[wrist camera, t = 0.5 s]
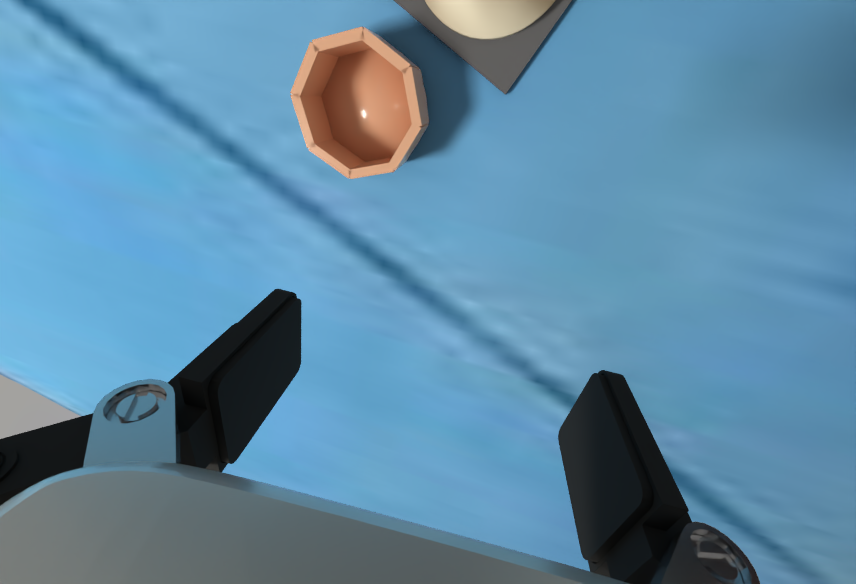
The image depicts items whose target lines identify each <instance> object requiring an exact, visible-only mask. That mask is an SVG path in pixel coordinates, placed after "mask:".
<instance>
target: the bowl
mask: <svg viewBox="0 0 856 584" xmlns="http://www.w3.org/2000/svg"><path fill="white" fill-rule="evenodd" d="M419 69H420V68H419V67H418V66H416V65H415V64H414V63H413V62H411V61H410V60H409V59H408V58H407V57H405V56H404V55H403V54H402V53H401V52H399V51H398V50H397V49H395V48H394V47H393V46H392V45H391V44H389V43H388V42H387V41H386V40H384V39H383V38H382V37H381V36H379V35H377V34H376V33H374V32H372V31H370V30H369V29H367V28H365V27H359V28H355V29H351V30H348V31H344V32H340V33H337V34H333V35H329V36H325V37H322V38H318V39H314V40H312V42H310V44H309V46H308V49H307V52H306V54H305V57H304V59H303V62H302V64H301V67H300V69H299V72H298V75H297V77H296V80H295V82H294V85H293V87H292V90H291V92H290V93H291V94H293V95H290V96H291V99H292V102H293V105H294V108H295V111H296V114H297V118H298V121H299V124H300V127H301V130H302V133H303V136H304V140H305V143H306V146H307V148H309V151H311V152H312V153H313V154H315V155H316V156H318V157H319V158H320V159H322V160H323V161H325V162H326V163H327V164H329V165H330V166H332V167H333V168H334V169H336V170H337V171H339V172H340V173H341V174H343V175H344V176H346V177H347V178H350V179H353V178H359V177H365V176H371V175H377V174H383V173H389V172H394V171H395V170H397V169H398V168H399V167H400V166H402V165H403V164H404V163H405V162H406V161H407V159H408V158H409V156H410V154H411V153H412V151H413V150H414V148H415V147H416V146H417V144H418V143H419V141H420V139H421V137H422V135H423V133H424V132H425V130H426V129H427V127H428V125H429V124H428V123H429V116H428V110H427V97H426V92H425V88H424V85H423V79H422V73H421V70H419Z"/></svg>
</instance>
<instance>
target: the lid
mask: <svg viewBox="0 0 856 584" xmlns="http://www.w3.org/2000/svg"><path fill="white" fill-rule="evenodd" d="M425 2H426V4H427V5H428V7H429V8H430V9H431V11H432V12H433V13H434V15H435V16H436V17H437V18H438V19H439V20H440V21H441V22H442V23H443V24H444V25H446V26H447V27H448V28H450V29H451V30H453V31H454V32H456V33H458V34H460V35H463V36H466V37H469V38H472V39H478V40H494V39H500V38H504V37H507V36H510V35H513V34H515V33H517V32H519V31H521V30H523V29H525V28H526V27H528V26H529V25H531V24H532V23H534V22H535V21H536V20H537V19H538V18H540V17H541V16H542V15H543V14H544V13H545V12H546V11H547V10H548V9H549V8H550V7H551V6H552V4H553V3H554V2H555V0H425Z"/></svg>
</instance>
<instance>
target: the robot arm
mask: <svg viewBox="0 0 856 584" xmlns="http://www.w3.org/2000/svg"><path fill="white" fill-rule="evenodd" d="M300 364H301V300H300V299H298V298H297V296H296V294H295V293H293V292H289V291H285V290H281V289H275V290H274V291H273V292H272V293H270V294H269V295H268V296H267V297H266V298H265V299H264V300H263V301H262V302H260V303H259V304H258V305H257V306H256V307H255V308H254V309H253V310H251V311H250V312H249V313H248V314H247V315H246V316H245V317H244V318H243V319H241V320H240V321H239V322H238V323H235V324H234V325H232V326H231V327H230V328H229V329H228V330H227V331H225V332H224V333H223V334H222V335H221V336H220V337H219V338H218V339H216V340H215V341H214V342H213V343H212V344H211V345H210V346H209V347H207V348H206V349H205V350H204V351H203V352H202V353H201V354H200V355H198V356H197V357H196V358H195V359H194V360H193V361H192V362H191V363H189V364H188V365H187V366H186V367H185V368H184V369H183V370H182V371H180V372H179V373H178V374H177V375H176V376H175V377H174V378H173V379H171V380H170V381H169V382H168V383H167V382H164V381H161V380H154V379H147V380H139V381H135V382H131V383H128V384H125V385H123V386H121V387H119V388H117V389H114V390H113V391H112V392H110V393H109V394H107V395H106V396H104V397H103V399H102V400H101V401H100V402H99V403H98V404H97V406H96V408H95V410H94V413H93V414H89V415H85V416H82V417H78V418H75V419H71V420H67V421H64V422H60V423H57V424H53V425H50V426H46V427H42V428H39V429H36V430H32V431H28V432H24V433H21V434H17V435H14V436H10V437H6V438H3V439H0V584H760V581H759V579H758V576H757V573H756V571H755V569H754V567H753V566H752V564H751V562H750V561H749V559H748V558H747V556H746V555H745V554H744V553H743V552H742V551H741V549H740V548H739V547H738V546H737V545H736V544H735V543H734V542H733V541H732V540H730V539H729V538H728V537H727V536H726V535H724V534H723V533H721V532H720V531H719V530H717V529H716V528H714V527H711V526H709V525H707V524H705V523H700V522H692V521H691V519H690V517H689V514H688V511H689V510H688V508H687V506H686V504H685V501H684V499H683V497H682V495H681V493H680V491H679V489H678V487H677V485H676V483H675V481H674V479H673V477H672V475H671V473H670V470H669V468H668V466H667V464H666V462H665V460H664V458H663V456H662V454H661V452H660V450H659V448H658V446H657V444H656V442H655V440H654V437H653V435H652V433H651V431H650V429H649V427H648V425H647V423H646V421H645V419H644V417H643V415H642V413H641V411H640V409H639V406H638V404H637V402H636V400H635V398H634V396H633V394H632V392H631V390H630V388H629V386H628V384H627V382H626V380H625V378H624V376H623V375H621V374H617V373H613V372H609V371H605V370H601V371H600V372H599V373H598V374H597V373H594V374H592V376H591V377H590V379H589V381H588V382H587V384H586V386H585V387H584V389H583V391H582V393H581V394H580V396H579V398H578V399H577V401H576V403H575V404H574V406H573V408H572V409H571V411H570V413H569V414H568V416H567V418H566V419H565V421H564V423H563V424H562V426H561V428H560V430H559V435H558V440H559V445H560V450H561V455H562V460H563V465H564V470H565V475H566V480H567V485H568V489H569V494H570V499H571V504H572V509H573V514H574V519H575V524H576V529H577V534H578V539H579V544H580V548H581V553H582V555H583V558H584V559H585V560H588V563H589V568H590V572H589V571H586V570H582V569H579V568H575V567H572V566H569V565H565V564H562V563H558V562H554V561H551V560H547V559H544V558H540V557H536V556H533V555H529V554H525V553H522V552H518V551H515V550H511V549H507V548H504V547H500V546H497V545H493V544H489V543H486V542H482V541H479V540H475V539H471V538H468V537H464V536H460V535H457V534H453V533H449V532H446V531H442V530H438V529H435V528H431V527H427V526H424V525H420V524H416V523H413V522H409V521H405V520H401V519H398V518H394V517H390V516H387V515H383V514H379V513H376V512H372V511H368V510H364V509H361V508H357V507H353V506H349V505H346V504H342V503H338V502H334V501H331V500H327V499H323V498H319V497H316V496H312V495H308V494H304V493H301V492H297V491H293V490H289V489H285V488H282V487H278V486H274V485H270V484H266V483H262V482H258V481H254V480H250V479H246V478H242V477H238V476H234V475H230V474H226V473H222V471H223V470H224V468H225V467H226V465H227V464H228V463H230V464H232V463H234V462H235V461H236V460H237V459H238V457H239V456H240V454H241V453H242V452H243V450H244V449H245V447H246V446H247V444H248V443H249V442H250V440H251V439H252V437H253V436H254V434H255V433H256V431H257V430H258V429H259V427H260V426H261V424H262V423H263V421H264V420H265V418H266V417H267V416H268V414H269V413H270V411H271V410H272V408H273V407H274V406H275V404H276V403H277V401H278V400H279V398H280V397H281V395H282V394H283V393H284V391H285V390H286V388H287V387H288V385H289V384H290V383H291V381H292V380H293V378H294V377H295V375H296V374H297V372H298V370H299V368H300Z"/></svg>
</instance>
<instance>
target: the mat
mask: <svg viewBox="0 0 856 584" xmlns="http://www.w3.org/2000/svg"><path fill="white" fill-rule="evenodd" d="M394 1H395V2H396V3H397V4H399V5H400V6H401V7H402V8H403V9H405V10H406V11H407V12H408V13H409V14H410V15H412V16H413V17H414V18H415V19H416V20H418V21H419V22H420V23H421V24H422V25H423V26H425V27H426V28H427V29H428V30H429V31H431V32H432V33H433V34H434V35H435V36H437V37H438V38H439V39H440V40H441V41H442V42H444V43H445V44H446V45H447V46H448V47H450V48H451V49H452V50H453V51H454V52H456V53H457V54H458V55H459V56H460V57H461V58H463V59H464V60H465V61H466V62H467V63H469V64H470V65H471V66H472V67H473V68H474V69H476V70H477V71H478V72H479V73H480V74H482V75H483V76H484V77H485V78H486V79H488V80H489V81H490V82H491V83H492V84H493V85H495V86H496V87H497V88H498V89H499V90H501V91H502V92H503V93H504V94H506V93H507V91H508V90H509V89H510V87H511V86H512V84H513V83H514V82H515V80H516V79H517V77H518V76H519V74H520V73H521V72H522V70H523V69H524V67H525V66H526V65H527V63H528V62H529V60H530V59H531V57H532V56H533V55H534V53H535V52H536V50H537V49H538V48H539V46H540V45H541V43H542V42H543V40H544V39H545V38H546V36H547V35H548V33H549V32H550V31H551V29H552V28H553V26H554V25H555V23H556V22H557V21H558V19H559V18H560V16H561V15H562V14H563V12H564V11H565V9H566V8H567V6H568V5H569V4H570V2H571V1H572V0H555V2H554V3H553V4H552V6H551V7H550V8H549V9H548V10H547V11H546V12H545V13H544V14H543V15H542V16H541V17H540V18H538V19H537V20H536V21H535V22H534V23H532V24H531V25H529V26H528V27H526V28H525V29H523V30H521V31H519V32H517V33H515V34H513V35H510V36H507V37H504V38H500V39H494V40H478V39H472V38H469V37H466V36H463V35H460V34H458V33H456V32H454V31H453V30H451V29H450V28H448V27H447V26H446V25H444V24H443V23H442V22H441V21H440V20H439V19H438V18H437V17H436V16H435V15H434V13H433V12H432V11H431V9H430V8H429V7H428V5H427V4H426V2H425V0H394Z"/></svg>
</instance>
